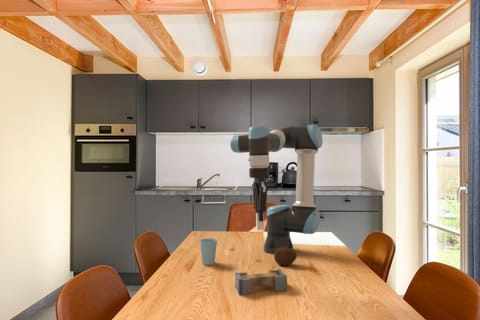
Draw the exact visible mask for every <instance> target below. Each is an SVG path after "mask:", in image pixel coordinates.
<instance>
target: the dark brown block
mask: <svg viewBox="0 0 480 320" xmlns="http://www.w3.org/2000/svg"><path fill="white" fill-rule="evenodd" d="M240 276H241V278H242V279H243V278H251V293H253V291H255V292H263V290H266V291H275V276H279V275H278V274H277V273H276V272H275V273H269V272H265V273H252V274H247V275H240Z"/></svg>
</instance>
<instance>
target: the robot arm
mask: <svg viewBox="0 0 480 320" xmlns="http://www.w3.org/2000/svg"><path fill="white" fill-rule="evenodd" d="M323 142H324V139H323V134H322V131H321V129H320V127H319V126H318V125H316V124H304V125H292V126H291V125H290V126H285V127H282V128H277V129H273V130H272V131H269V127H268V126H265V125H253V126H250V127H249V129H248V134H241V135H240V134H239V135H233V136H232V137H231V138H230V142H229V144H230V149H231V151H232V152H233V153H239V154H241V153H249V154H248V156H249V158H248V159H247V161H248V162H249V167H250V168H249V170H248V171H249V173H248V174H249V178H251V179H253V183H252V184H251V188H252V195H253V196H252V198H253V208H254V210H255V218H256V219H255V225H256V227H255V230H257V231H262V230H263V231H265V212H267V213H266V238H265V241H264V244H263V251H264V252H265V253H268V254H272V255H274V253H275V251H276V249H277V248H283V247H286V248H289V249H291V250H293V251H294V244H293V241H292V239H291V238H292V237H291V234H290V233H291V232H292V233H298V234H299V233H300V234H304V235H307V234H308V235H313V234H315V233H316V232H317V230H318V229H319V226H320V222H321V213H320V211H319V210H318V209H317V206H316V204H315V203H314V194H315V193H314V190H315V189H314V186H315V163H316V162H315V161H316V160H315V157H316V155H317V153H319V149H320V148H322V147H323ZM283 149H294V152H295V153H296V154H297V158H296V159H297V161H296V181H295V182H296V184H295V202H294V203H293V204H292V206H291V207H290V205H289V204H282V205H280V204H279V205H273V206H268V207H267V200H268V199H267V198H268V190H269V187H268V186H267V182H266V179H267V178H269V177H270V168H269V167H270V153H277V152H280V151H281V150H283Z"/></svg>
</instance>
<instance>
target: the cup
mask: <svg viewBox="0 0 480 320" xmlns="http://www.w3.org/2000/svg"><path fill="white" fill-rule="evenodd" d="M217 244H218V239H216V238H212V237H210V238H209V237H208V238H203V239H202V238H201V239H200V240H199V245H200V253H201V254H200V255H201V262H202V265H204V266H212V265H215V262H216V253H217Z"/></svg>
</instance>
